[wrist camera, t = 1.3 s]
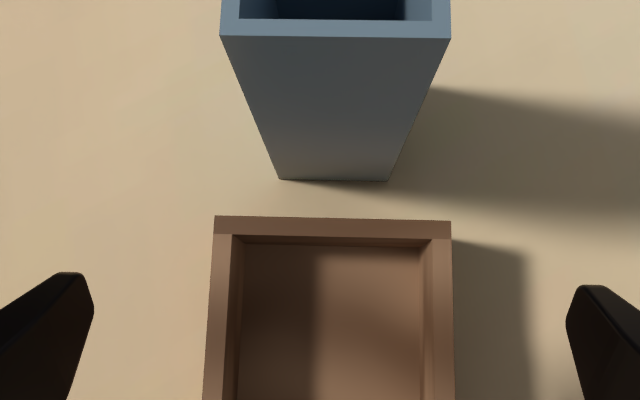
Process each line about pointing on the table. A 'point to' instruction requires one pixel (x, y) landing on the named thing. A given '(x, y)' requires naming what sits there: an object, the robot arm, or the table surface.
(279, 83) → the tall slate-blue crate
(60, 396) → the robot arm
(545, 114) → the table surface
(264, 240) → the walnut crate
